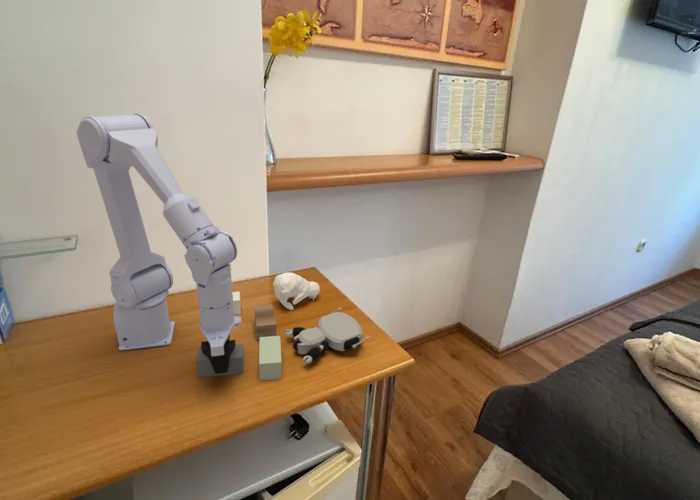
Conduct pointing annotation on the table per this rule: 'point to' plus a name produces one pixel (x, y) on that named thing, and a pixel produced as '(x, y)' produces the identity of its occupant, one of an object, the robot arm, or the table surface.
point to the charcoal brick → (234, 363)
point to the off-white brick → (236, 303)
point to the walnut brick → (264, 321)
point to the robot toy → (327, 335)
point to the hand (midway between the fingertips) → (221, 362)
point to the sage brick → (270, 358)
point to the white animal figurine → (294, 288)
